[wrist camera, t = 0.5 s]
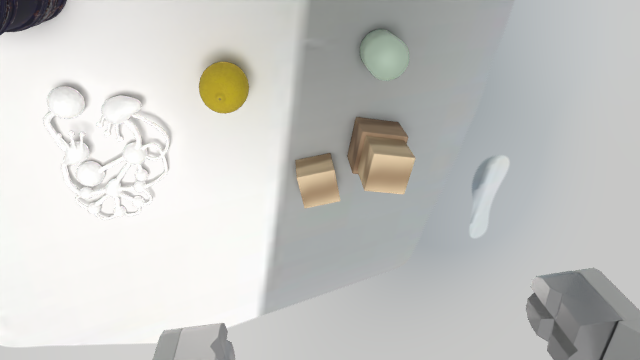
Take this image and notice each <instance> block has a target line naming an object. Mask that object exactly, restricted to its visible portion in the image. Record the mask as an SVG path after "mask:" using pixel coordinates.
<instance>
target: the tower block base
mask: <svg viewBox="0 0 640 360" xmlns="http://www.w3.org/2000/svg"><path fill="white" fill-rule="evenodd" d="M366 136H374V137H382V138H391V139H400V140H404V141H405V143H407V140H408V136H407V134H406V133H405V131H404V130H403V128H402V127H401V126H400V124H399V123H398V122H393V121H384V120H376V119H368V118H360V117H356V119H355V123H354V128H353V132H352V137H351V142H350V146H349V151H348V155H347V157H348V160H349V163H350V166H351V169H352V173H353V174H359V173H358V171H357V170H358V166H359V162H360V157H361V153H362V149H363V145H364V141H365V137H366Z"/></svg>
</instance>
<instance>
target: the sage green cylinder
mask: <svg viewBox="0 0 640 360" xmlns="http://www.w3.org/2000/svg"><path fill="white" fill-rule="evenodd" d="M360 57H361V60H362V61H363V63H364V64H365V66H366V67H367V68H368V70H369V71H370V72H371V74H372V75H373V76H374V77H376V78H377V79H379V80H383V81H389V80H393V79H395V78H397V77H399V76H400V75H401V74H402V73H403V72H404V71H405V69H406V68H407V66H408V63H409V51H408V48H407V46H406V45H405V44H404V42H402V41H401V40H400V39H398V38H397V37H396V36H394V35H393V34H392V33H390V32H389V31H387V30H382V29H379V30H374V31H372V32H370V33H369V34H367V35H366V36H365V38H364V39H363V41H362V43H361V45H360Z"/></svg>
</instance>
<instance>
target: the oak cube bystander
mask: <svg viewBox="0 0 640 360" xmlns="http://www.w3.org/2000/svg"><path fill="white" fill-rule="evenodd" d="M296 173H297V180H298V184H299V188H300V192H301V196H302V200H303V204H304V208H309V207H314V206H319V205H323V204H328V203H333V202H338V201H340V196H339V191H338V186H337V181H336V176H335V171H334V166H333V162H332V158H331V155H330V153H328V154H323V155H318V156H314V157H309V158H304V159H299V160H296Z"/></svg>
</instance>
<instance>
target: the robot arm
mask: <svg viewBox="0 0 640 360" xmlns="http://www.w3.org/2000/svg"><path fill="white" fill-rule="evenodd" d="M531 288H532V290H533V291H534V294H532V295H531V296H530V297H529V298H528V300H527V305H526V311H527V316H528V320H529V322H530V324H531V326H532V328H533V330H534V331H535V332H536V334H537V335H538V336H539V337H541V338H543V339H544V340H546V341H548V346H547V351H548V352H549V354H550V355H551V357H552V358H553V359H554V360H640V310H639V309H637V308H636V306H635V305H634V304H633V303H632V302H630V300H629V299H628V298H626V297H625V295H624V294H623V293H622V292H620V290H619V289H618V288H616V286H615V285H614V284H613V283H612V282H611V281H609V279H607V278H606V276H605V275H604V274H603V273H602V272H600V271H599V270H597V269H595V268H589V269H582V270H576V271H567V272H561V273H554V274H549V275H542V276H536V277H535V278H534V279H533V280H532V284H531ZM153 360H235V354H234V349H233V346H232V343H231V342H230V341H228V340H227V329H226V326H225V324H224V323H219V324H210V325H202V326H193V327H185V328H178V329H171V330H164V331H163V333H162V334H161V336H160V338H159V341H158V344H157V347H156V351H155V354H154V357H153Z"/></svg>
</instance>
